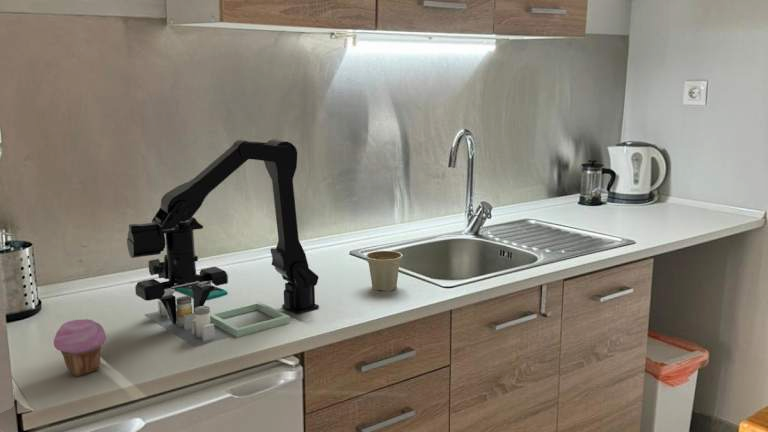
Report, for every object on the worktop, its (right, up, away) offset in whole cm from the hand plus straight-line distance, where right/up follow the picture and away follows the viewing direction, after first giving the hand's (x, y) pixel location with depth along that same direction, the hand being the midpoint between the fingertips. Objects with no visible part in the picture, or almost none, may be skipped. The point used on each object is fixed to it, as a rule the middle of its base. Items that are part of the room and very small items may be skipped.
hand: (185, 321), depth 157 cm
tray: (+13, -2, +2) cm, 14 cm away
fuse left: (-6, 0, +6) cm, 9 cm away
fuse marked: (0, -1, 0) cm, 1 cm away
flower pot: (+43, +4, +30) cm, 52 cm away
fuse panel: (0, -2, 0) cm, 2 cm away
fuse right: (+5, -2, -6) cm, 9 cm away
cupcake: (-14, -7, -20) cm, 25 cm away
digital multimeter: (-3, +2, +24) cm, 24 cm away
